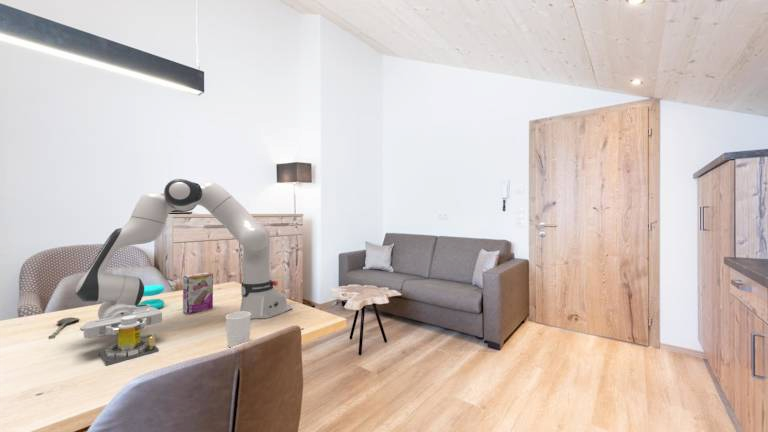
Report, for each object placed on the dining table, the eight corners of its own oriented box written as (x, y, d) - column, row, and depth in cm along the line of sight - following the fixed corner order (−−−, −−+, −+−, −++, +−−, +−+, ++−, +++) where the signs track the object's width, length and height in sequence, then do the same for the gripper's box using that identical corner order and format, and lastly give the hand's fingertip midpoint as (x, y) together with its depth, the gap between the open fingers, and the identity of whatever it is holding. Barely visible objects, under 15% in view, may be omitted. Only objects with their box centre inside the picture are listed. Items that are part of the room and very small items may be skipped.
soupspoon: (82, 321, 135) (60, 325, 132) (81, 313, 135) (60, 316, 132) (63, 337, 116) (38, 342, 113) (63, 328, 116) (37, 332, 113)
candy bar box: (187, 314, 141) (187, 277, 140) (182, 312, 144) (182, 275, 143) (213, 308, 150) (213, 273, 149) (208, 306, 153) (208, 271, 152)
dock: (148, 341, 112) (147, 327, 112) (158, 351, 105) (158, 336, 104) (98, 353, 103) (98, 338, 103) (106, 365, 95) (105, 349, 95)
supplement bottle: (138, 350, 102) (137, 318, 101) (115, 354, 99) (115, 321, 99) (142, 344, 107) (141, 313, 106) (121, 347, 104) (120, 315, 104)
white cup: (241, 350, 106) (241, 319, 105) (220, 348, 107) (220, 317, 107) (255, 340, 113) (255, 312, 113) (235, 338, 115) (235, 310, 115)
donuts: (148, 284, 155) (169, 284, 155) (148, 305, 155) (169, 305, 155) (131, 289, 145) (153, 289, 145) (132, 311, 145) (154, 311, 145)
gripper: (78, 317, 103) (85, 327, 94) (154, 303, 119) (166, 311, 110) (79, 336, 104) (85, 349, 94) (155, 320, 119) (167, 329, 110)
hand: (130, 328), depth 102 cm, fingers closed on supplement bottle, 5 cm apart
